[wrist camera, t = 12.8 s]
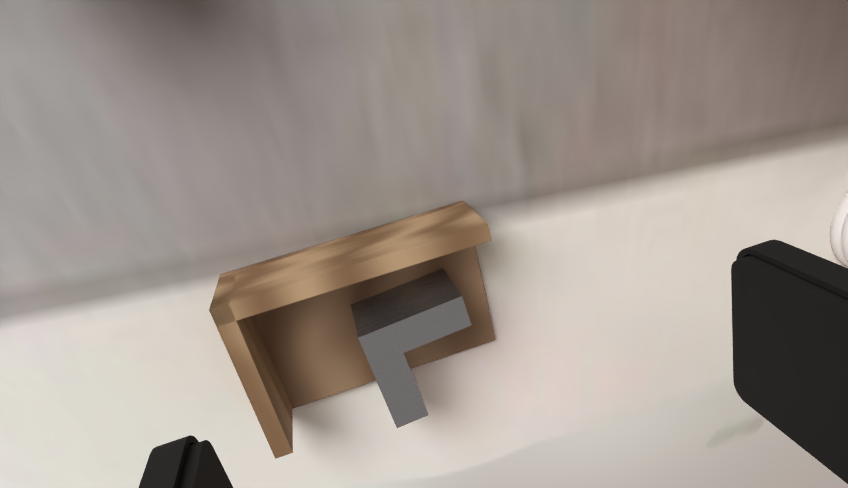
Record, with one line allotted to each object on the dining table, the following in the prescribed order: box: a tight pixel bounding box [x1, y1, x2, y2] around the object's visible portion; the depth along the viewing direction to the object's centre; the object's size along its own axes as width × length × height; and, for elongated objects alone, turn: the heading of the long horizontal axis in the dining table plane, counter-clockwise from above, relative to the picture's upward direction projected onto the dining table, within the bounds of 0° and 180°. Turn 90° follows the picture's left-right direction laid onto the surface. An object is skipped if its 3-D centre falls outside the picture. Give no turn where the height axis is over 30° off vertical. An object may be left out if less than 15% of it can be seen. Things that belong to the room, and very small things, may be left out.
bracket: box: [351, 268, 471, 428], centre depth 40 cm, size 8×7×5 cm
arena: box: [209, 201, 495, 459], centre depth 39 cm, size 18×12×6 cm, turn 104°
